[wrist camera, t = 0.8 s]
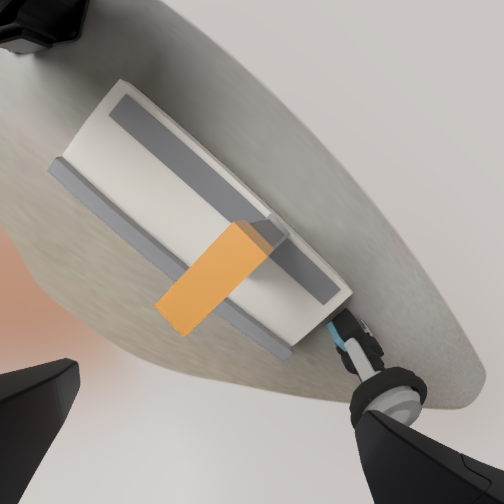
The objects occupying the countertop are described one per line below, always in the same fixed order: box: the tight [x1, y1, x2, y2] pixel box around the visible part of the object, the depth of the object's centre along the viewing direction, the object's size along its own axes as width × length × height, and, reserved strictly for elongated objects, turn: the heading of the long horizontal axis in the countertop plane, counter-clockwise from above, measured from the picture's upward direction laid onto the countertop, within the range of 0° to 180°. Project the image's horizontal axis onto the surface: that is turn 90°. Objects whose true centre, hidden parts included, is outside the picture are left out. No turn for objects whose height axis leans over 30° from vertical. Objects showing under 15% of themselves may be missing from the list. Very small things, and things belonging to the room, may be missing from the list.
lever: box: [154, 214, 290, 337], centre depth 15 cm, size 2×4×10 cm, turn 135°
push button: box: [326, 308, 427, 429], centre depth 21 cm, size 7×5×10 cm
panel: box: [48, 79, 353, 362], centre depth 20 cm, size 20×7×3 cm, turn 46°
